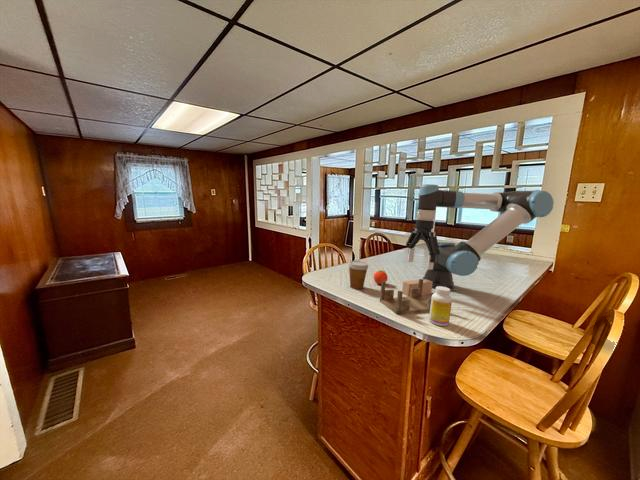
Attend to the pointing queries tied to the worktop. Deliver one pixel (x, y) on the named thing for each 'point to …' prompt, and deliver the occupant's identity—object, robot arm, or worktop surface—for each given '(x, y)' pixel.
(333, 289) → the worktop surface
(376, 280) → the clementine
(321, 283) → the worktop surface
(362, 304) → the worktop surface
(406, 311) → the rack
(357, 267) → the disposable coffee cup
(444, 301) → the supplement bottle
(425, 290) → the pinkish tan block
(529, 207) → the robot arm
